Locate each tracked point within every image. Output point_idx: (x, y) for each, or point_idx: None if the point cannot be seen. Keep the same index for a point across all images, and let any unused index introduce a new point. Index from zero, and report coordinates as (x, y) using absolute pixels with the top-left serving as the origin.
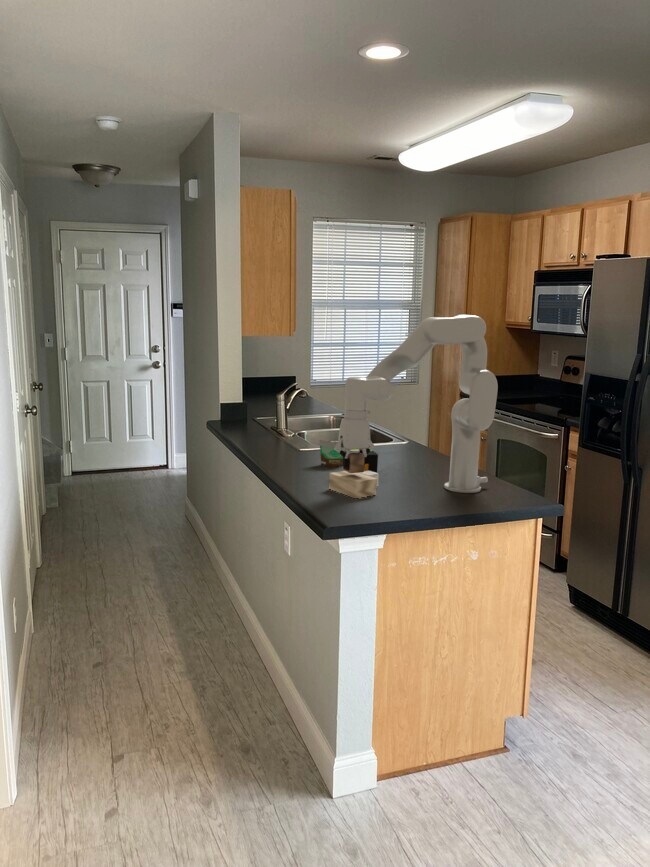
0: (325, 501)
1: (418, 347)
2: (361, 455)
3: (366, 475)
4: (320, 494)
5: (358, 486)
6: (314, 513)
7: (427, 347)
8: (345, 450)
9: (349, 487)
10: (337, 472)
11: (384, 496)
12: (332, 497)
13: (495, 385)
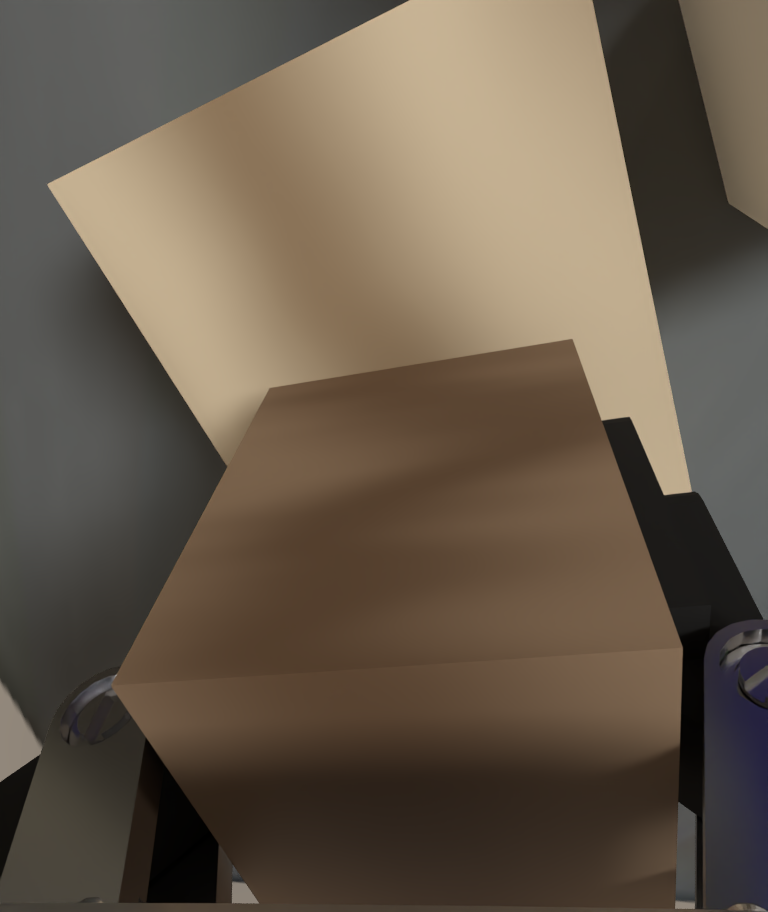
0: (114, 558)
1: None
2: (571, 905)
3: (678, 447)
4: (64, 350)
5: None
6: (43, 738)
7: None
8: (100, 896)
9: None
10: (208, 158)
11: (725, 522)
12: (185, 467)
13: None
